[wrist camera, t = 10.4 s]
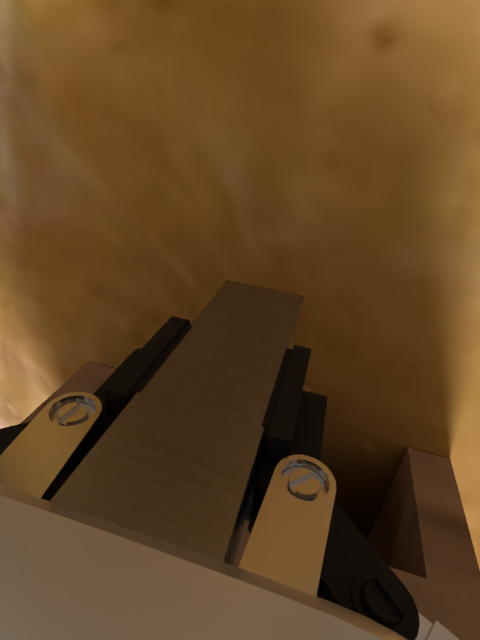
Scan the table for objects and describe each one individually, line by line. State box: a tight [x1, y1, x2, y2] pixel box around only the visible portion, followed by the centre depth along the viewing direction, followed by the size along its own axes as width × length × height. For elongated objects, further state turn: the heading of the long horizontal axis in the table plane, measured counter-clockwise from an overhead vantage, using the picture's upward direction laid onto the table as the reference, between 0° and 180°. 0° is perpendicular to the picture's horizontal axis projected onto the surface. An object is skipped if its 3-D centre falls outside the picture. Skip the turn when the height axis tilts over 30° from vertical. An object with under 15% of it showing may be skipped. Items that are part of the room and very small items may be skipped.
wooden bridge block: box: [20, 362, 480, 640], centre depth 17 cm, size 10×20×16 cm, turn 84°
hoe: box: [50, 280, 304, 566], centre depth 13 cm, size 14×5×12 cm, turn 174°
